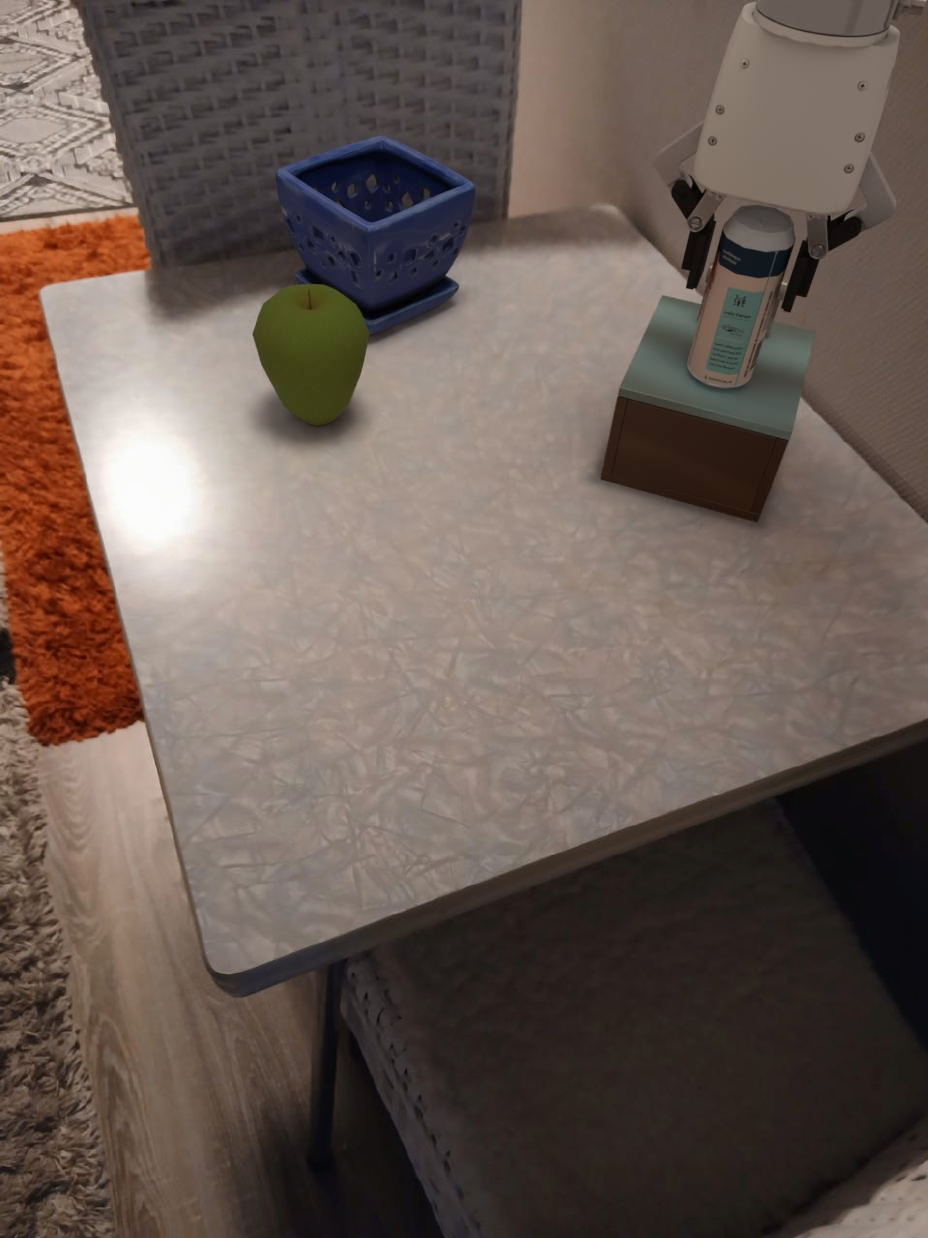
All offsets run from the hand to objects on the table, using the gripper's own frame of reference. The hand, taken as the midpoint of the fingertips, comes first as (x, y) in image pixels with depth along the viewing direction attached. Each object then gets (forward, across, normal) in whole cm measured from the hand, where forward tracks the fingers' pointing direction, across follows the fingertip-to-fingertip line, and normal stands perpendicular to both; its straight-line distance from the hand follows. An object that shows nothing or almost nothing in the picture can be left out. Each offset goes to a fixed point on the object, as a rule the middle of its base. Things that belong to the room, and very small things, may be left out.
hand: (741, 288), depth 68 cm
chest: (+16, 0, -2) cm, 16 cm away
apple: (+16, +30, +7) cm, 35 cm away
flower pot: (+16, +33, -12) cm, 38 cm away
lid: (+8, 0, -2) cm, 8 cm away
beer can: (+7, 0, 0) cm, 7 cm away
